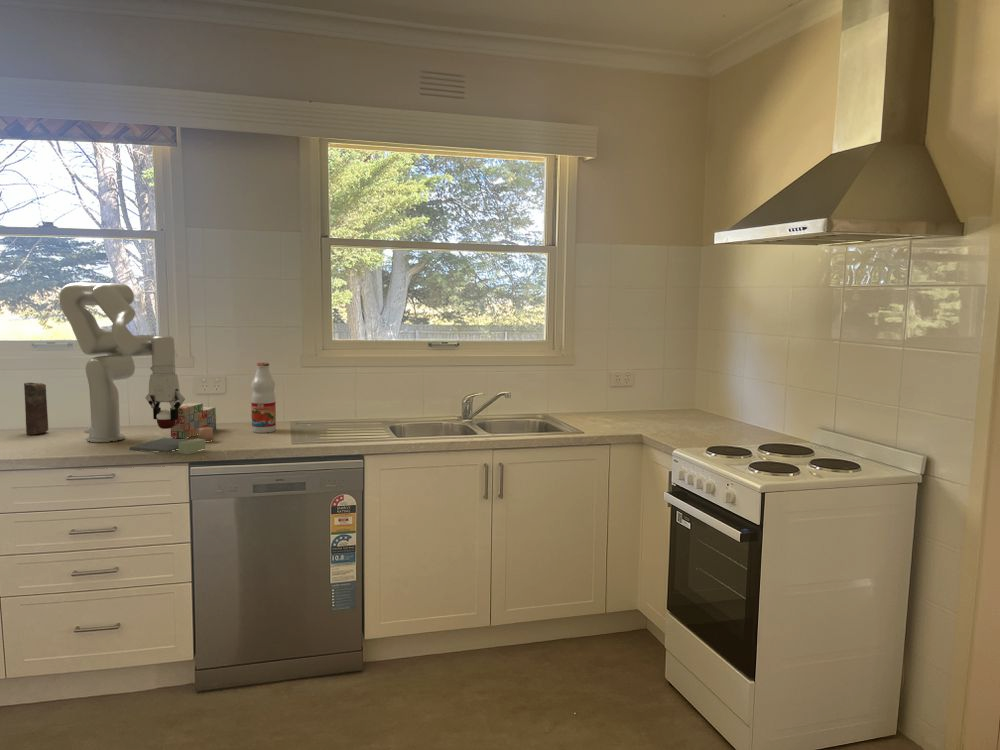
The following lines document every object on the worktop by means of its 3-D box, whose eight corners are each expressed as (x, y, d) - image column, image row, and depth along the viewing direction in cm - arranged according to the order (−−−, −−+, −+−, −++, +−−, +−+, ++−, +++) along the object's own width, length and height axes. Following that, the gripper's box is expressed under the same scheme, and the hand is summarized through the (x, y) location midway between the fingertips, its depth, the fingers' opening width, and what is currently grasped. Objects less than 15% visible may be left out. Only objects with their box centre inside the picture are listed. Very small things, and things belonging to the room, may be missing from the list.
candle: (30, 432, 288) (27, 381, 286) (51, 431, 290) (48, 381, 288) (23, 435, 281) (20, 384, 278) (45, 435, 283) (42, 383, 280)
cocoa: (180, 427, 269) (181, 394, 268) (175, 429, 263) (176, 396, 262) (153, 426, 268) (154, 393, 267) (147, 428, 261) (148, 395, 261)
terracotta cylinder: (195, 442, 275) (195, 428, 274) (204, 439, 280) (203, 426, 279) (207, 442, 274) (207, 429, 273) (215, 440, 279) (215, 427, 278)
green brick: (178, 453, 256) (178, 442, 256) (198, 449, 263) (197, 438, 263) (186, 454, 254) (186, 443, 254) (205, 450, 261) (205, 439, 261)
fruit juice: (279, 429, 303) (278, 362, 300) (271, 433, 294) (270, 364, 291) (257, 428, 304) (255, 361, 301) (248, 432, 294) (246, 363, 291)
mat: (129, 449, 259) (129, 447, 259) (164, 440, 277) (164, 437, 277) (168, 452, 255) (168, 450, 255) (201, 443, 273) (201, 440, 273)
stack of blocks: (202, 428, 302) (202, 399, 301) (216, 429, 301) (215, 400, 300) (170, 438, 281) (169, 406, 280) (185, 439, 280) (184, 407, 279)
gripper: (135, 370, 262) (138, 419, 263) (177, 372, 257) (179, 422, 259) (150, 368, 269) (152, 416, 271) (191, 370, 264) (193, 418, 266)
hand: (165, 418), depth 265 cm, fingers closed on cocoa, 6 cm apart
